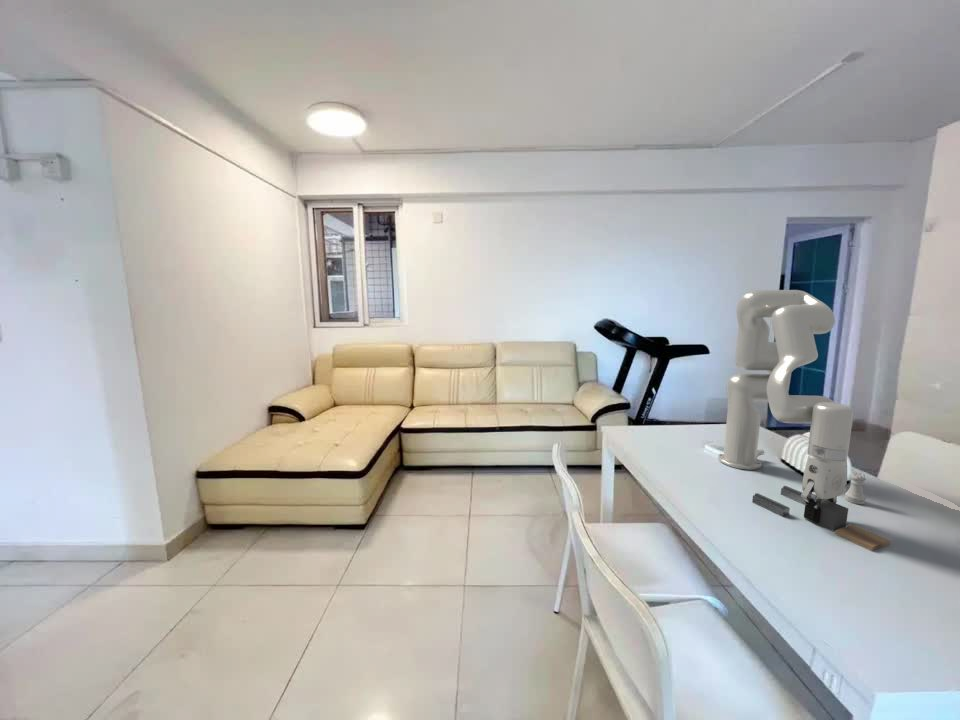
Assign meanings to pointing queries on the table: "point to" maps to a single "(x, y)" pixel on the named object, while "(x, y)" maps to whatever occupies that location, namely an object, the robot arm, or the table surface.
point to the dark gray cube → (832, 515)
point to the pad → (862, 537)
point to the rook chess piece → (856, 489)
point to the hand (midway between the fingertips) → (818, 517)
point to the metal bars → (778, 507)
